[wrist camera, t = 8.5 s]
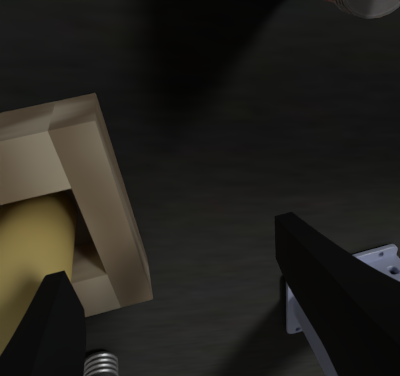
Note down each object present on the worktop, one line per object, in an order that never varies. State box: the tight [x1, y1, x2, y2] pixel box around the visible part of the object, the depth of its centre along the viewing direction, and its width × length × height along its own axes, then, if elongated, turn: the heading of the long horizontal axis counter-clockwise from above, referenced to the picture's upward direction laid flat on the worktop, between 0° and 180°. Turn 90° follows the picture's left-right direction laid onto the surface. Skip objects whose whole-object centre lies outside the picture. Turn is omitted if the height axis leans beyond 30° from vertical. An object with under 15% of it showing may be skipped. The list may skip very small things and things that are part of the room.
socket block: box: [0, 93, 153, 317], centre depth 20 cm, size 12×12×4 cm
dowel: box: [0, 191, 77, 355], centre depth 18 cm, size 4×4×8 cm
